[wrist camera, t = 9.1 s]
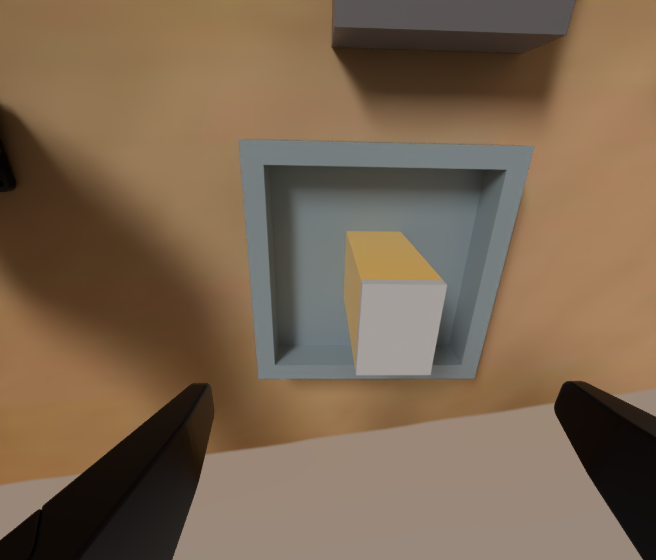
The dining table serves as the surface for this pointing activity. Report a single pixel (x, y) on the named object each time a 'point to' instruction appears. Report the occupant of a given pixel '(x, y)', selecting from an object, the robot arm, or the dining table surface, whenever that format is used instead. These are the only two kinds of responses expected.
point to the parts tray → (372, 215)
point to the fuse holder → (450, 24)
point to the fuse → (391, 304)
